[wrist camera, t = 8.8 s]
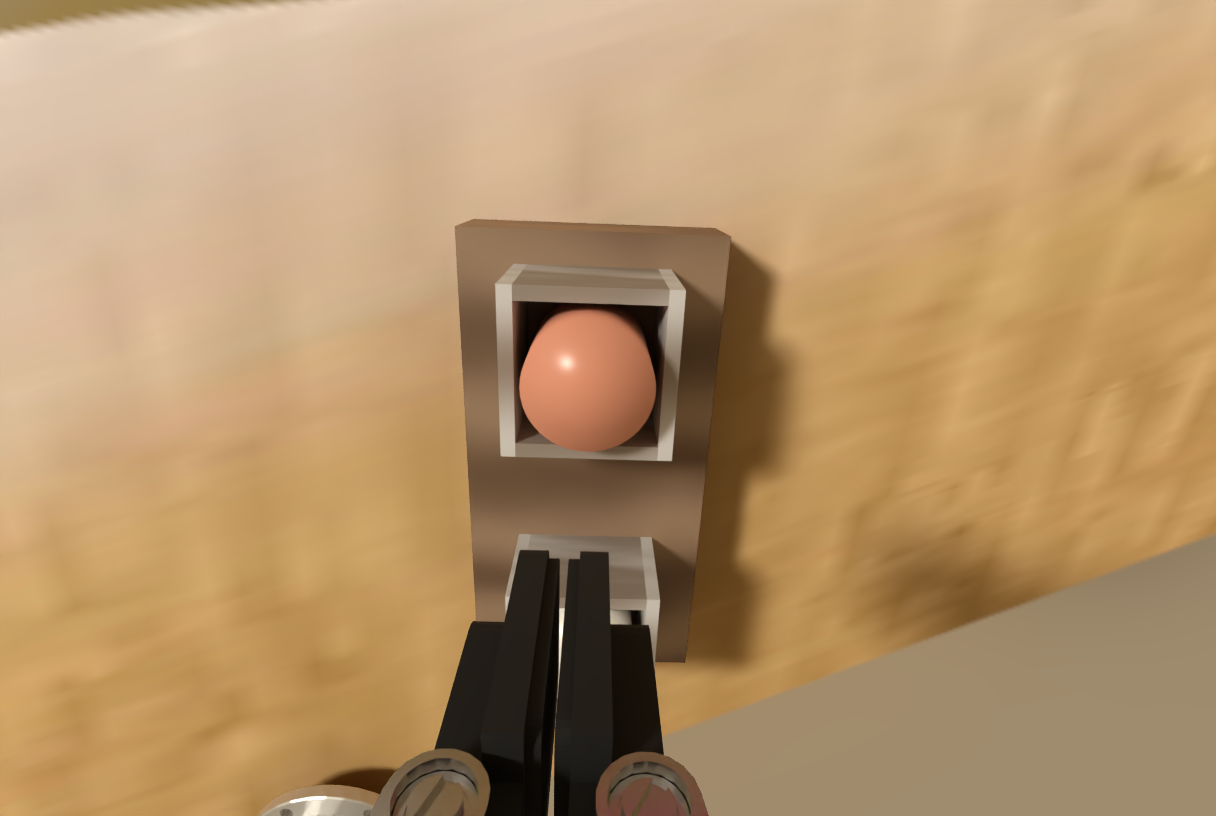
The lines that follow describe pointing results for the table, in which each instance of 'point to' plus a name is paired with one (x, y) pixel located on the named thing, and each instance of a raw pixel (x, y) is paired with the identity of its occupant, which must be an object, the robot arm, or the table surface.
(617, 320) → the plunger salmon pink
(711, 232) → the button box
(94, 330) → the table surface
